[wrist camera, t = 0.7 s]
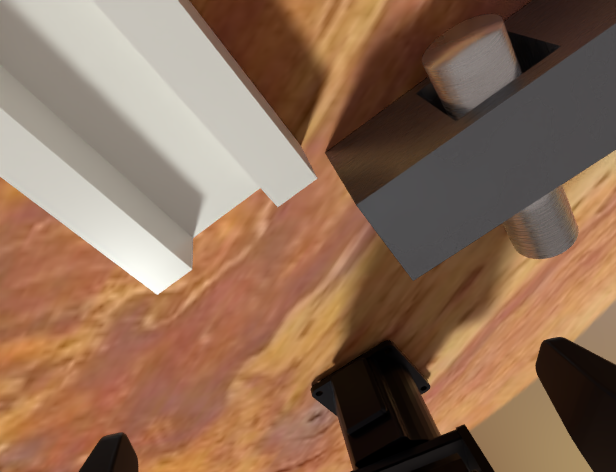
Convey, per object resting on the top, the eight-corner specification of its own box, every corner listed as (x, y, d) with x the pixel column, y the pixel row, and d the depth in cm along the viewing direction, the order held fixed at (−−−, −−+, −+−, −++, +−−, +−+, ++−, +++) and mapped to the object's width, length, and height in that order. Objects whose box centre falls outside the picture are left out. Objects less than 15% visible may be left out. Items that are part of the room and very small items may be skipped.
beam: (617, 54, 21) (720, 81, 17) (375, 221, 24) (413, 280, 20) (595, -47, 19) (712, -44, 14) (325, 152, 21) (356, 205, 17)
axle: (555, 203, 25) (592, 236, 22) (502, 233, 26) (531, 268, 23) (480, 7, 18) (519, 23, 16) (411, 55, 19) (438, 78, 17)
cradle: (301, 146, 21) (317, 178, 18) (163, 249, 22) (157, 294, 19) (62, -165, 14) (25, -194, 11) (-117, 17, 15) (-191, 33, 12)
